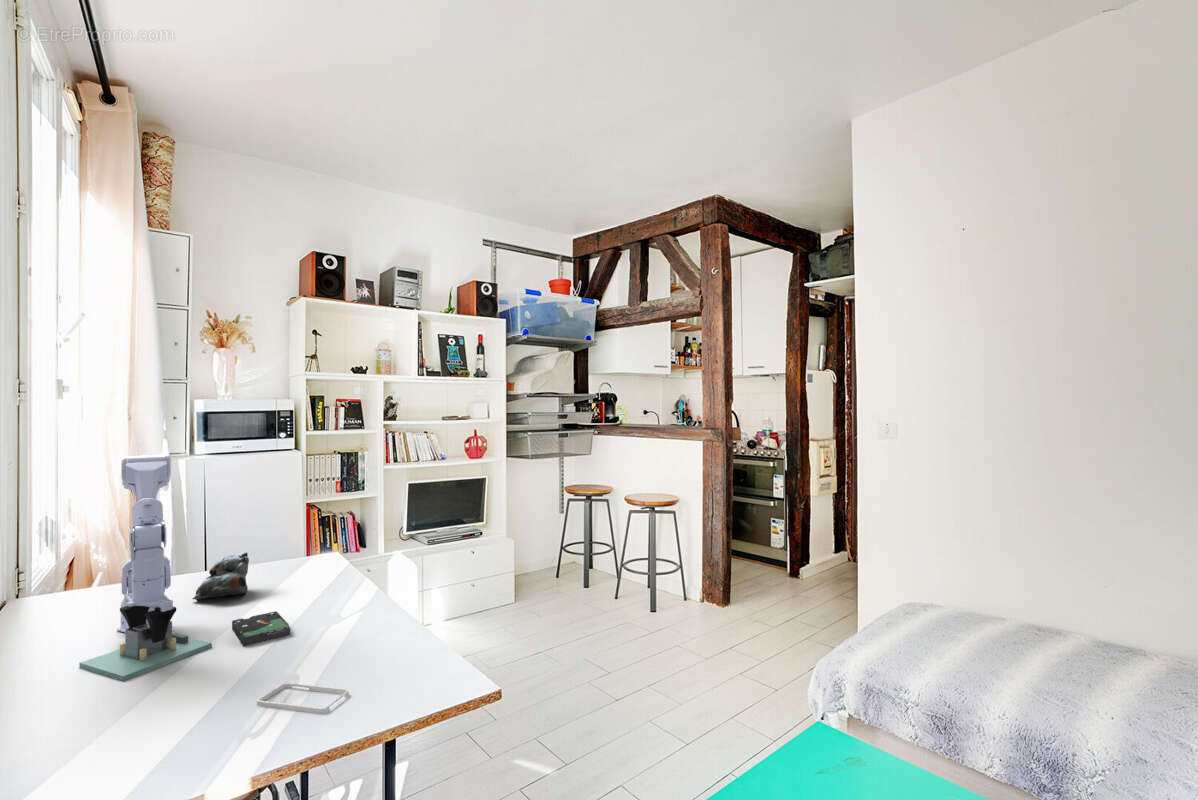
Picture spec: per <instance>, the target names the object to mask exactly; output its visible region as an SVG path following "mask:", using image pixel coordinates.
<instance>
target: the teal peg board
mask: <svg viewBox="0 0 1198 800" xmlns="http://www.w3.org/2000/svg"><path fill="white" fill-rule="evenodd" d="M212 647H213V643H212V642H210V641H205V640H201V639H197V638H194V637H189V635H186V634H182V633H178V632H172V638H171V639H169V649H167V650H164V651H161V652H159V653H156V654H153V655H150V656H148V657H147V648H142V649H140V659H139V660H136V659H132V658H128V657H125V642H122V643H119V649H117V650H114V651H110V652H107V653H105V654H102V655H99V656H96V657H93V658H90V659H87V660H84V661H82V662H79V664H78V665H79V668H80V669H83V670H85V671H86V670H87V671H88V672H89V671H90V672H93V673H96V674H99V675H103V676H104V677H105V676H106V677H109V678H112V679H115V680H119V681H122V682H124V681H127V680H129V679H133V678H135V677H137V676H141V675H143V674H146V673H147V672H150V671H153V670H156V669H158V668H161V667H163V666H166V665H168V664H171V663H174V662H176V661H178V660H182V659H185V658H187V657H189V656H192V655H194V654H197V653H200V652H202V651H205V650H208V649H210V648H212Z"/></svg>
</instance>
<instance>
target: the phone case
mask: <svg viewBox="0 0 1198 800" xmlns="http://www.w3.org/2000/svg"><path fill="white" fill-rule="evenodd" d="M293 687H297V688H298V687H299V688H305V689H308V690H309V691H311V692H321V693H329V694H330V693H331V694H336V695H337V694H339V695H340V696H338V697H337V698H336V699H334V700H333V701H331V703H329V704H328V705H327V706H325V707H318V706H308V705H302V704H301V705H300V704H291V703H284V702H275V701H266V700H267V699H269V698H270V697H272V696H274V695H276V693H278V692H280V691H281V690H283V689H292V688H293ZM349 692H350V691H349V690H348V689H346V688H345V689H344V688H337V687H336V688H335V687H326V686H318V685H317V686H316V685H309V684H300V683H299V684H298V683H290V682H285V683H281V684H279V685H277V687H275V688H273V689H272V690H271V691H269V692H267V693H265V694H264V695H263V696H260V698H258V699H257V700H256V706H258V707H263V708H264V707H265V708H273V709H274V708H275V709H282V710H290V711H298V712H307V713H314V714H315V713H316V714H326V713H327V712H329V711H330V707H332V706H333V705H334V704H336V703H337V702H338V701H340V700H341V699H342V698H343V697H344V698H347V697H349V694H350V693H349Z"/></svg>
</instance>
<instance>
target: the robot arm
mask: <svg viewBox="0 0 1198 800" xmlns="http://www.w3.org/2000/svg"><path fill="white" fill-rule="evenodd" d="M171 462H172V461H171V456H170V454H168V453H165V454H155V455H154V454H153V455H151V454H150V455H149V454H148V455H133V456H132V455H131V456H129V455H128V456H127V455H124V456H123V457H121V474H120V475H121V480H122V481H121V483H122V486H123V489H126V490H129V491H132V493H133V495H134V496H135V502H134V503H133V505H132V507H131V528H130V529H129V539H128V541H129V551H130V559H128V560H127V561H125V562H124V563H123V565H122V570H121V571H122V572H121V594H122V595H123V599H122V600H121V603H120V608H119V613H120V626H119V627H117V628H116V631H117V632H121V633H125V629H129V628H132V627H135V626H138V625H141V624H145V623H149V626H150V632H151V639H152V642H153V643H156V642H159V641H162V640H164V639H165V636H166V632H167V629H168V625H169V623H170V621H171V620H172V618H173V616H174V615H175V613H176V612H177V607H176V606H173V605H174V601H173V600H172V599H170V598H169V597H168V596H167V595H166V594H165V593H166V590H167V589H168V590H169V588H170V587H171V585H172V584H171V583H172V582H171V580H172V579H171V577H172V572H171V565H170V564H171V563H170V562H171V561H170V559H169V557H167V556H165V554H164V553H165V549H166V546H167V527H166V524H165V519H164V510H163V507H164V506H163V503H162V502H161V501H160V500H158V499H157V497H158V493H159V491H160V489H162V488H164V487H168V485H169V484H168V483H170V479H171V478H170V477H171V473H172V472H171V470H172V469H171V468H172V467H171V466H172V465H171ZM162 543H163V547H162Z"/></svg>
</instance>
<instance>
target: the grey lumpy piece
mask: <svg viewBox="0 0 1198 800" xmlns="http://www.w3.org/2000/svg"><path fill="white" fill-rule="evenodd" d="M249 563H250V558H249V556H248V552H244V553H242V554H241V555H237V554H233V555H232V554H230V555H228V556H224V557H222V559H220V560H218V561H217V562H215V563H214V564H213V565H212V567H211V568H210V570H209V576H208V577H206V578H205V580H203V581H202V582H201V584H199V586H198V588H197V589H196V590H195V595H194V596H193V597H192V598H191V599H192V600H195V601H196V602H198V601H199V600H204V599H207V598H213V597H214V598H215V597H223V596H225V597H227V596H246V594H247V593H248V589H249V588H248V585H247V579H246V576H247V574H248V571H249Z"/></svg>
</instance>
